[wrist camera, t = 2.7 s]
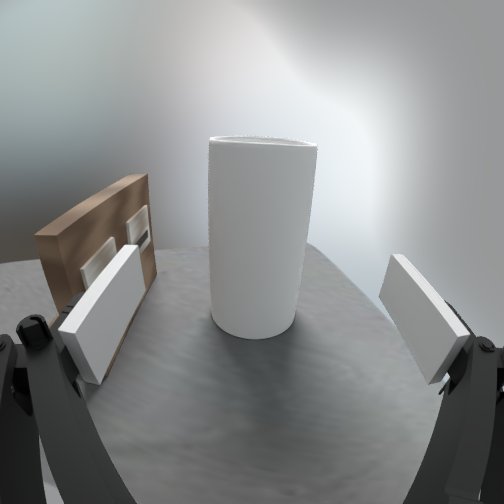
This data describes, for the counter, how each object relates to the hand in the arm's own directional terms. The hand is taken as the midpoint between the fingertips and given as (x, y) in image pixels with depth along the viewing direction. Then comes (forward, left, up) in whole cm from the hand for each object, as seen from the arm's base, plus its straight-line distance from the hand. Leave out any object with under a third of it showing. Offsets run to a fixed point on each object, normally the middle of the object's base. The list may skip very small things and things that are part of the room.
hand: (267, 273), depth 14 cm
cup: (-8, +5, -10) cm, 14 cm away
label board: (-15, -8, -10) cm, 20 cm away
